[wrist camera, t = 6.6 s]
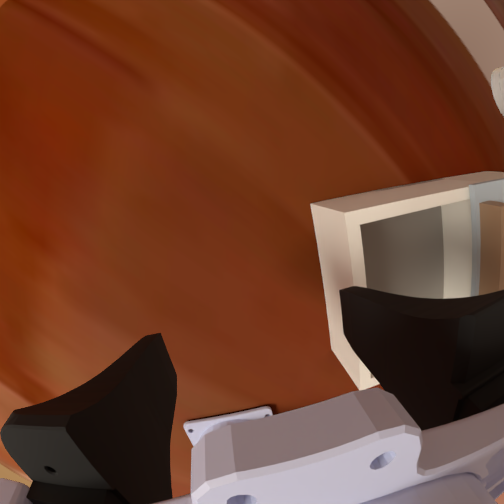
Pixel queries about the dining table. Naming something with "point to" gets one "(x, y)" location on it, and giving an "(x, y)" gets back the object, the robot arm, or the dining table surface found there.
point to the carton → (395, 248)
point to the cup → (498, 87)
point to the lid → (487, 236)
